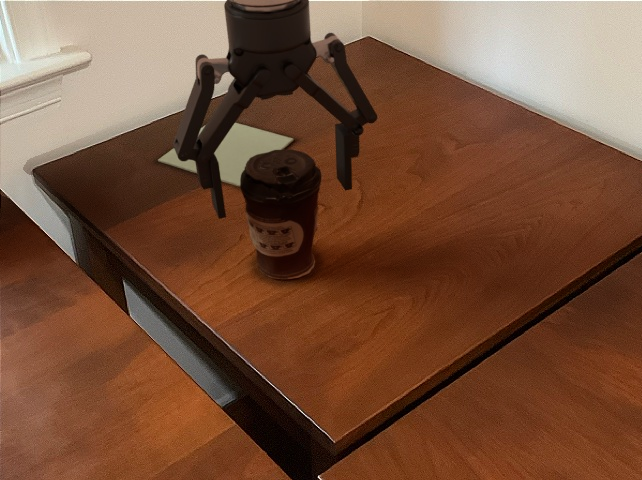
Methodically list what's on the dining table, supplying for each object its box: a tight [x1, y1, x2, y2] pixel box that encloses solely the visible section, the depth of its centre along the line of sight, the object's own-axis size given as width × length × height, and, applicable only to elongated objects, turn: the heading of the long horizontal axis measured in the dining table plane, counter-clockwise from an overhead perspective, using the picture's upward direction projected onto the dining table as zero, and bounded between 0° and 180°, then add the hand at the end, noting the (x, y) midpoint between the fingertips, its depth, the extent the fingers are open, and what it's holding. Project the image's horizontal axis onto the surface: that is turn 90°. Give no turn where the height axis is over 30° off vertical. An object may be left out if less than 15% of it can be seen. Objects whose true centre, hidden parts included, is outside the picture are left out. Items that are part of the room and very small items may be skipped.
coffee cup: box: [240, 148, 322, 280], centre depth 87 cm, size 9×8×13 cm
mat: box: [157, 122, 294, 187], centre depth 110 cm, size 13×13×1 cm
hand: (283, 197), depth 85 cm, fingers open, 13 cm apart
